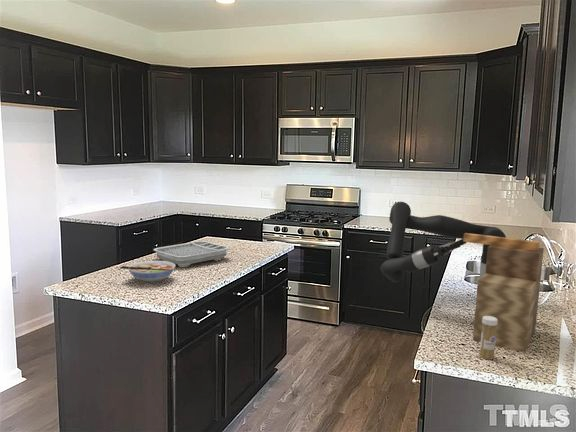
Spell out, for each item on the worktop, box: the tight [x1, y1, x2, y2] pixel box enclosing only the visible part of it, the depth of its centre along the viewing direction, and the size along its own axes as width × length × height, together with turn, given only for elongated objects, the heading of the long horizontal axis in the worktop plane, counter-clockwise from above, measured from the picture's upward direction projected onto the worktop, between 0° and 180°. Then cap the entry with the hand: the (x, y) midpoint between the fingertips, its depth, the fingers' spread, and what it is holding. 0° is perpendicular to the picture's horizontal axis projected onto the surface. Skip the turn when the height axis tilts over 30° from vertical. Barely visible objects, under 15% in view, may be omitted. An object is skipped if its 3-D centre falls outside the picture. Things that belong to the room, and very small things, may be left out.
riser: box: [472, 245, 545, 353], centre depth 172 cm, size 17×24×32 cm
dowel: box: [463, 233, 541, 251], centre depth 177 cm, size 26×3×3 cm, turn 55°
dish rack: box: [153, 240, 230, 268], centre depth 276 cm, size 32×37×8 cm
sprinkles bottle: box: [478, 316, 498, 360], centre depth 154 cm, size 5×5×13 cm
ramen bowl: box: [119, 260, 177, 284], centre depth 232 cm, size 25×23×8 cm
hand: (462, 242), depth 185 cm, fingers open, 8 cm apart
